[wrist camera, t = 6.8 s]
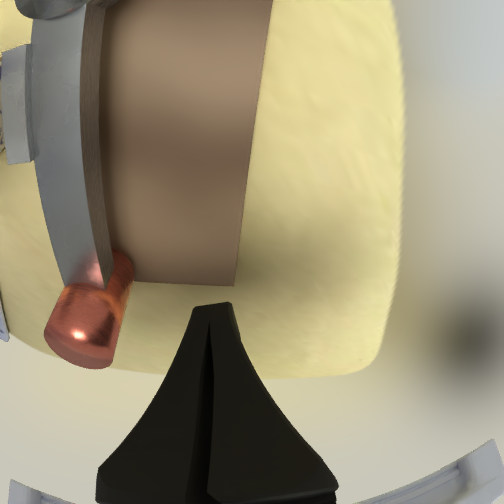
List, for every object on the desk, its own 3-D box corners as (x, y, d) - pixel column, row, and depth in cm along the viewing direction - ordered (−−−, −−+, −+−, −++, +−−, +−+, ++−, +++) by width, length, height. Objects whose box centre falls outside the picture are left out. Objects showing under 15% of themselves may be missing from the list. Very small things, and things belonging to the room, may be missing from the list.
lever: (60, -38, 4) (-9, -62, 1) (149, -57, 5) (109, -112, 1) (79, 289, 13) (50, 361, 9) (142, 295, 13) (125, 373, 10)
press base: (90, -32, 5) (24, -63, 1) (275, -38, 7) (311, -93, 3) (97, 265, 14) (66, 341, 10) (232, 272, 15) (238, 355, 11)
